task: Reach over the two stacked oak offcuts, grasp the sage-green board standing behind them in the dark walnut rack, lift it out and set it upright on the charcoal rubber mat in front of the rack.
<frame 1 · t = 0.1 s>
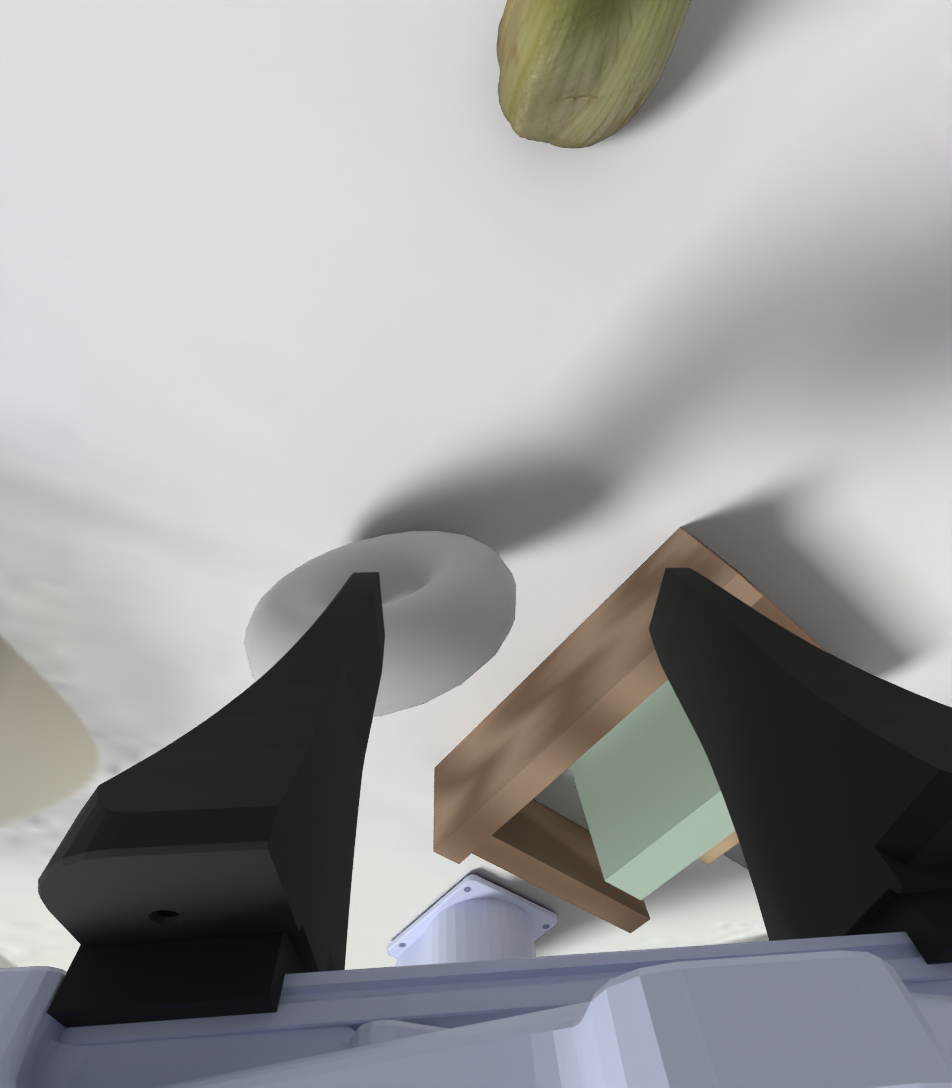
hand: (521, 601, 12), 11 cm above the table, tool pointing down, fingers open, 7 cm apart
fennel bulb: (568, 78, 17), on the table
donut: (396, 553, 23), on the table
rack: (638, 723, 28), on the table
board: (637, 722, 28), on the table
offcut upper: (735, 792, 30), point 1 cm above the table, touching offcut lower
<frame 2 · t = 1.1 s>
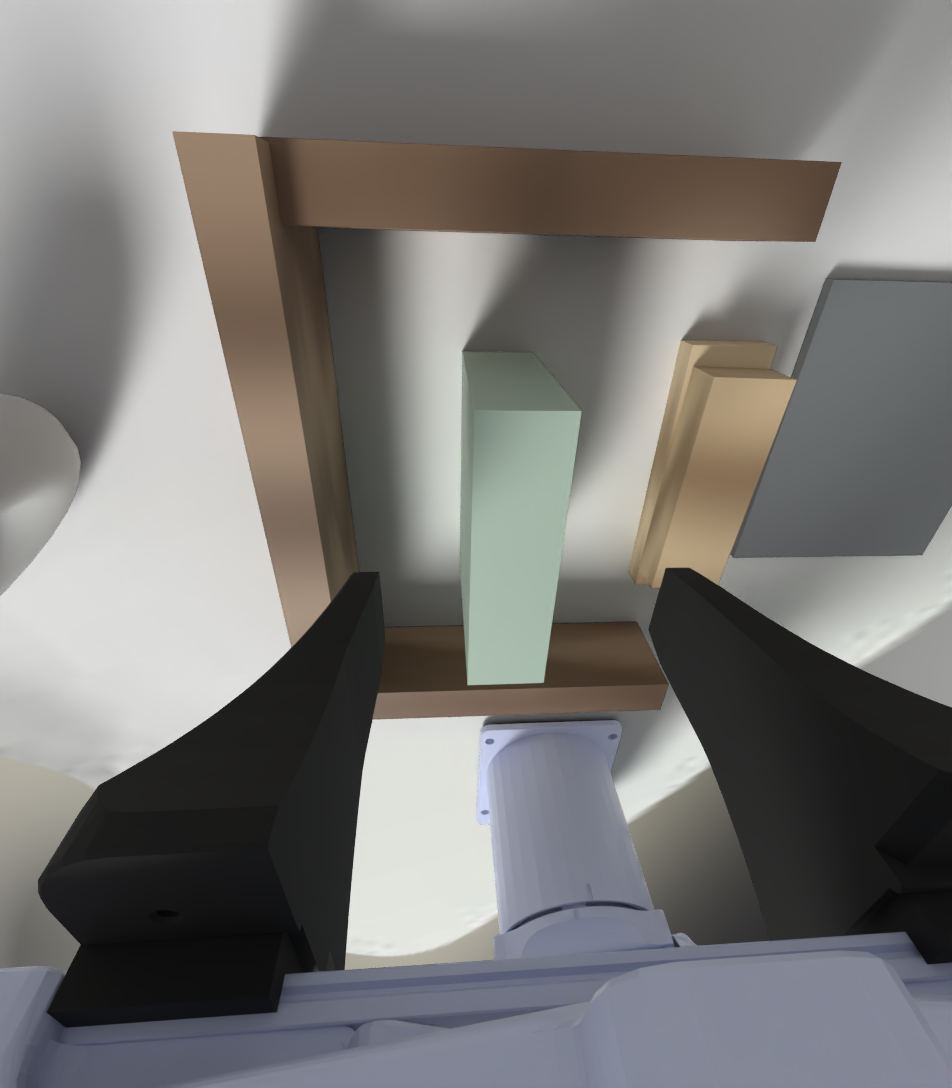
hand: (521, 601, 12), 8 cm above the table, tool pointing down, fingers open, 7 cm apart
donut: (44, 469, 19), on the table
rack: (492, 471, 20), on the table
board: (492, 470, 20), on the table
mat: (877, 436, 20), on the table
offcut upper: (697, 478, 19), point 1 cm above the table, touching offcut lower
offcut lower: (681, 465, 21), on the table, touching offcut upper
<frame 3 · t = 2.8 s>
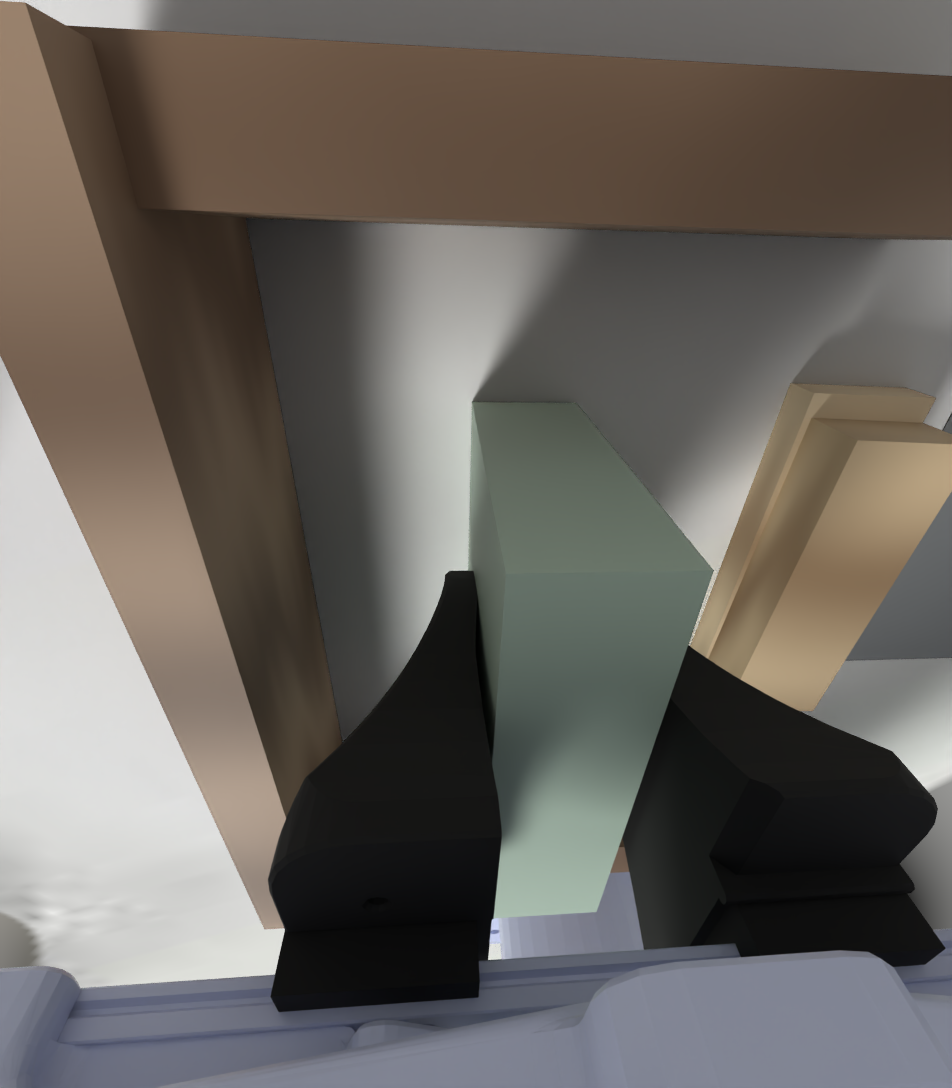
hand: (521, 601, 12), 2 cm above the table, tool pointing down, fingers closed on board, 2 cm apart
rack: (512, 560, 14), on the table
board: (512, 559, 14), on the table, touching gripper
offcut upper: (795, 567, 14), point 1 cm above the table, touching offcut lower
offcut lower: (761, 545, 15), on the table, touching offcut upper
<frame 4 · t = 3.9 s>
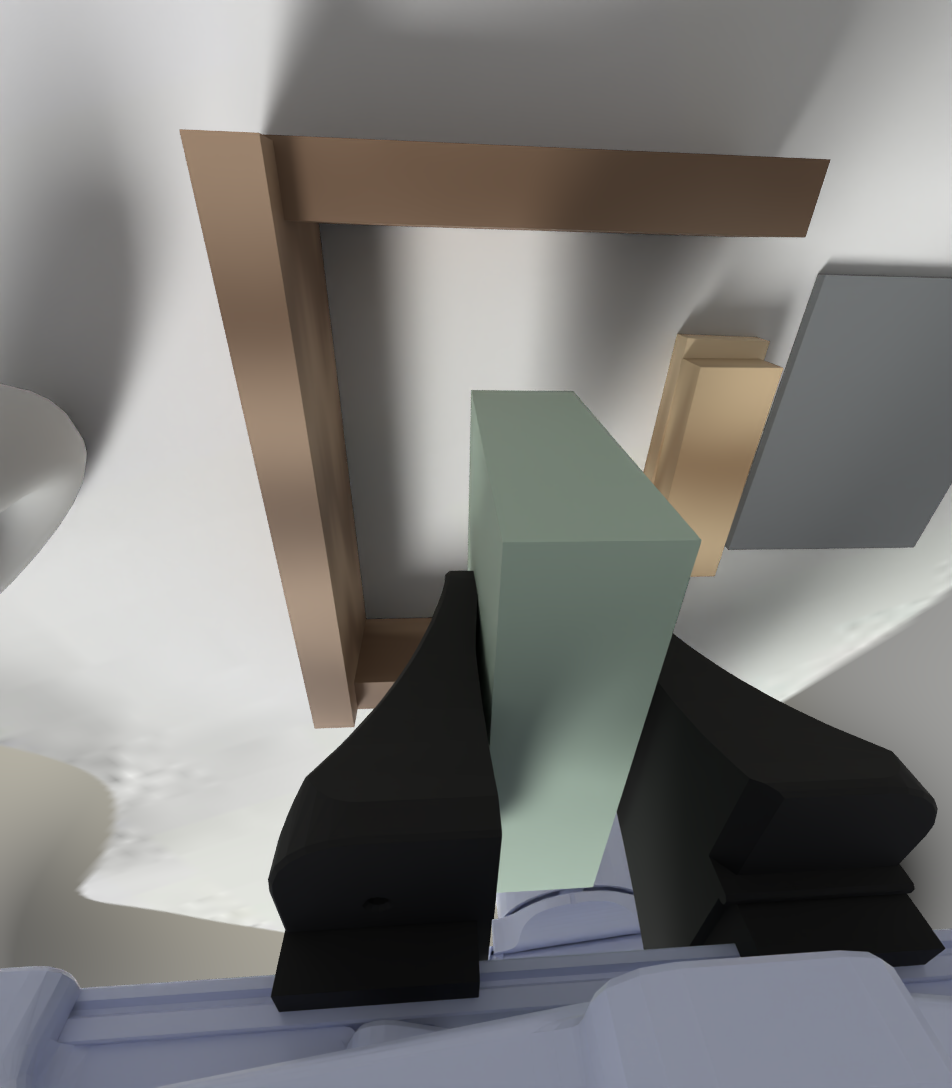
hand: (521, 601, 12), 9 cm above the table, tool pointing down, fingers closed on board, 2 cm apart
donut: (50, 461, 19), on the table
rack: (490, 464, 20), on the table
board: (510, 547, 14), point 6 cm above the table, touching gripper
mat: (869, 429, 20), on the table
offcut upper: (691, 468, 20), point 1 cm above the table, touching offcut lower
offcut lower: (674, 458, 21), on the table, touching offcut upper
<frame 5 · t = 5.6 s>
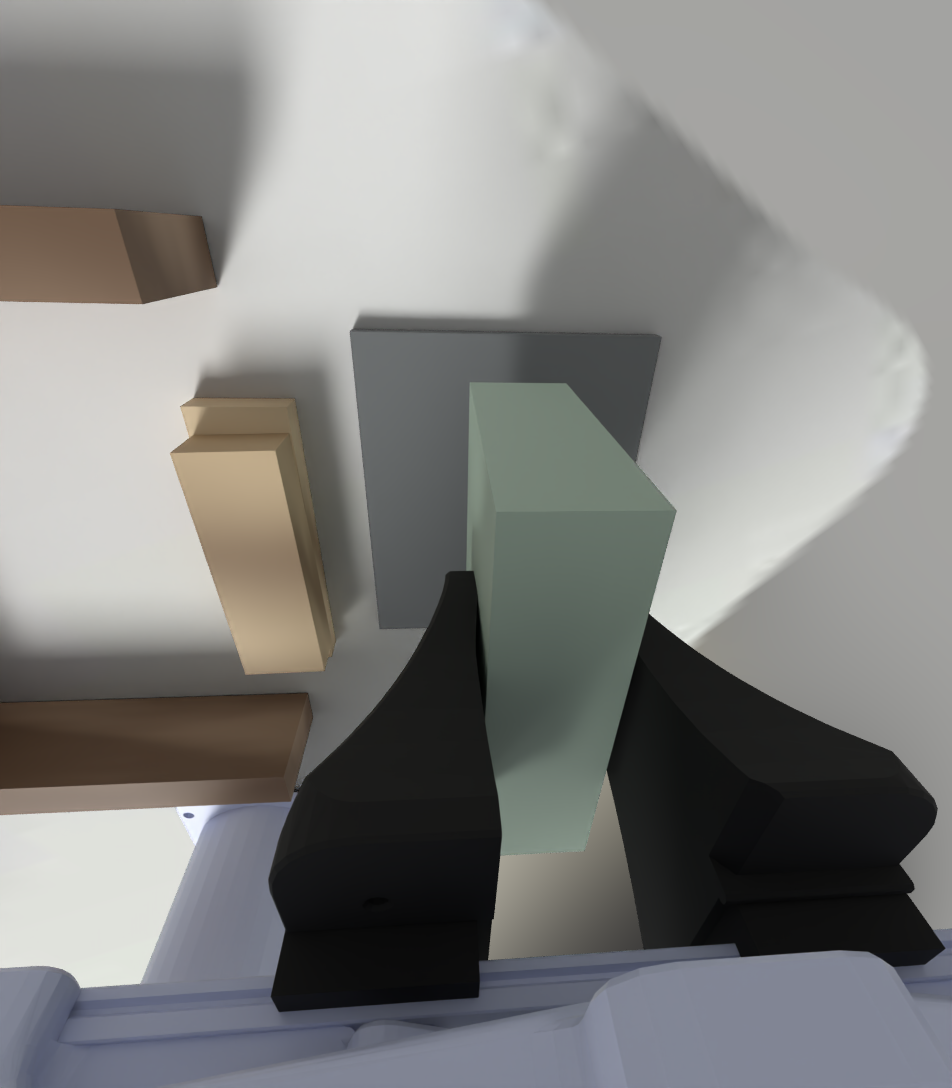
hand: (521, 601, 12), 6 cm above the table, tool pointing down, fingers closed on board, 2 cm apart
rack: (51, 541, 17), on the table
board: (507, 533, 15), point 3 cm above the table, touching gripper
mat: (498, 499, 17), on the table
offcut upper: (272, 552, 17), point 1 cm above the table, touching offcut lower
offcut lower: (280, 529, 18), on the table, touching offcut upper
when the fingers open (3 cm above the table, at t = 6.7 s): board stays where it is, resting on mat.
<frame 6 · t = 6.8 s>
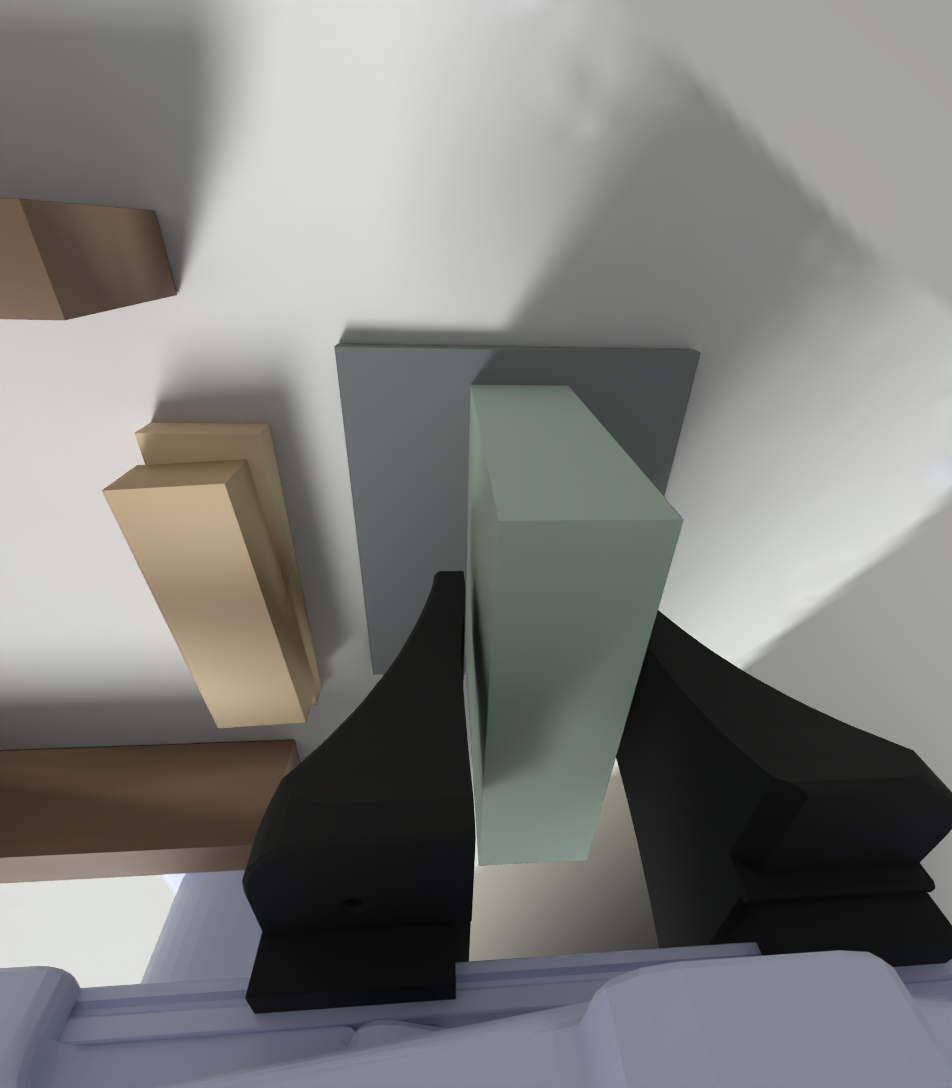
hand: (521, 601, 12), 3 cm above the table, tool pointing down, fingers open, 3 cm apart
board: (508, 537, 15), resting on mat
mat: (506, 534, 15), on the table
offcut upper: (240, 592, 15), point 1 cm above the table, touching offcut lower
offcut lower: (257, 565, 16), on the table, touching offcut upper
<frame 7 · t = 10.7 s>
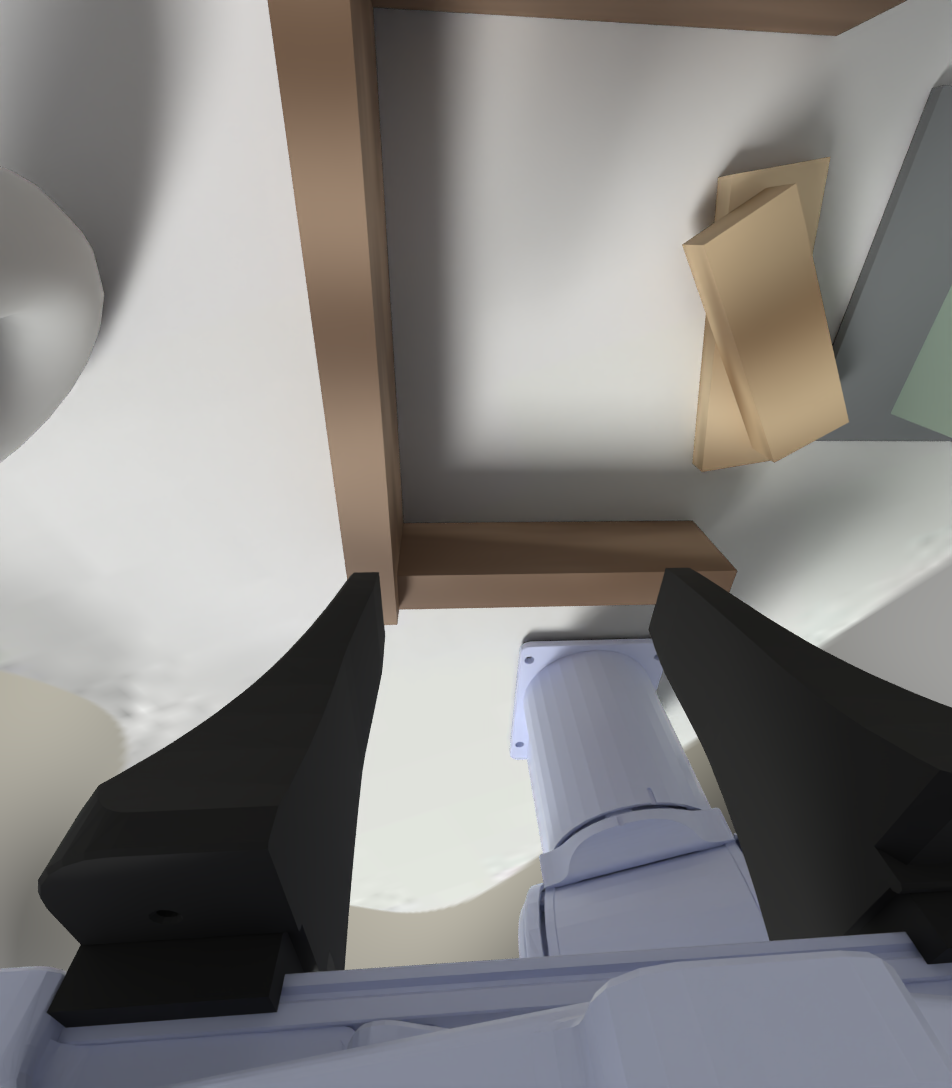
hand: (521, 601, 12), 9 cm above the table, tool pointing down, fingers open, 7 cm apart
donut: (61, 320, 17), on the table
rack: (550, 330, 18), on the table
offcut upper: (758, 335, 18), point 1 cm above the table, touching offcut lower
offcut lower: (735, 331, 19), on the table, touching offcut upper
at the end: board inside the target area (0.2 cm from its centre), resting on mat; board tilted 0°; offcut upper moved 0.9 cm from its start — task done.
